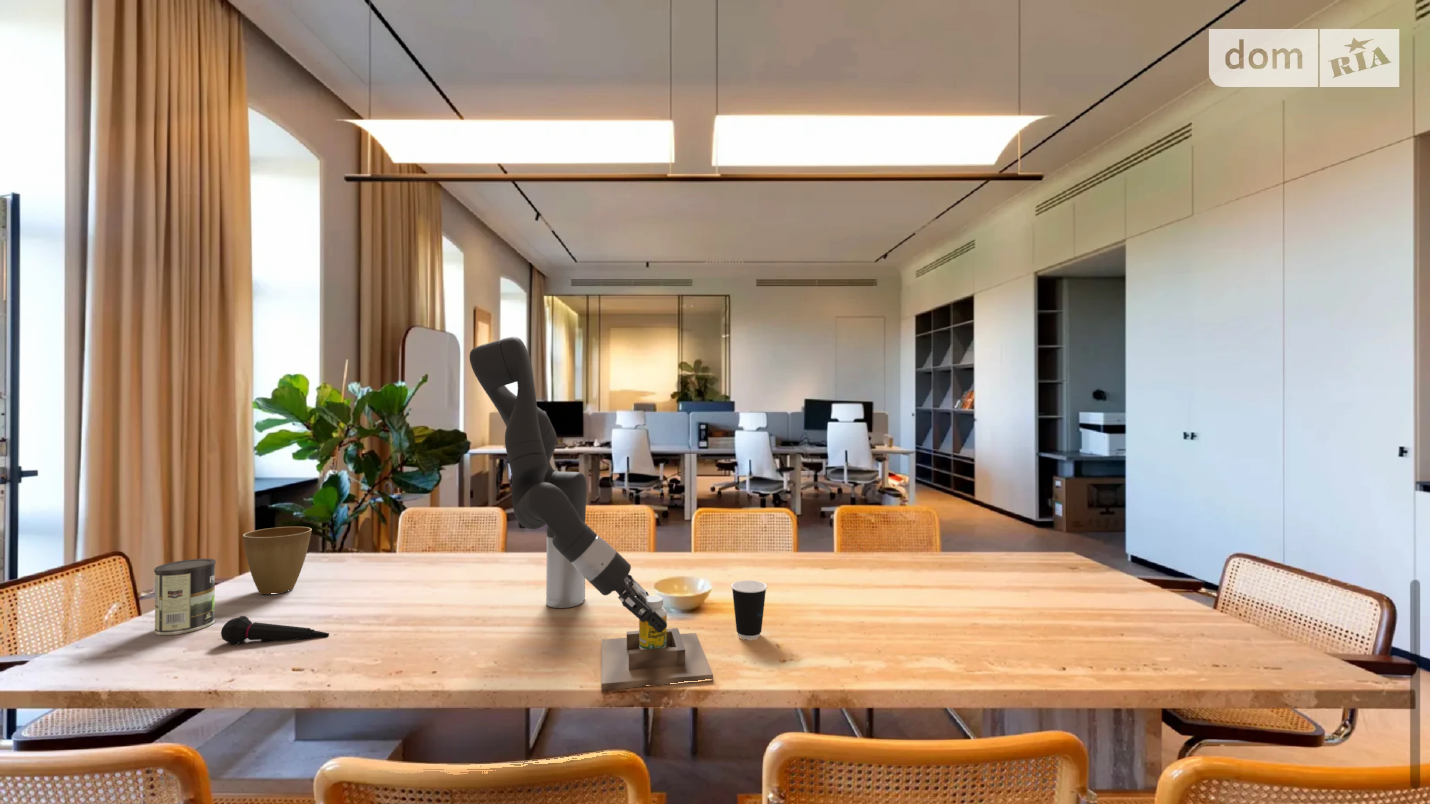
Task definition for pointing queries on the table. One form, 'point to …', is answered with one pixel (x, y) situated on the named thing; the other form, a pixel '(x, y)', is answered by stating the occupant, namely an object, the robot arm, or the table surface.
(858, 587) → the table surface
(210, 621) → the coffee can
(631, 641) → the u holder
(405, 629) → the table surface
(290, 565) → the plant pot
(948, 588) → the table surface
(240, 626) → the microphone
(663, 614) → the supplement bottle
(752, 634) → the dixie cup
